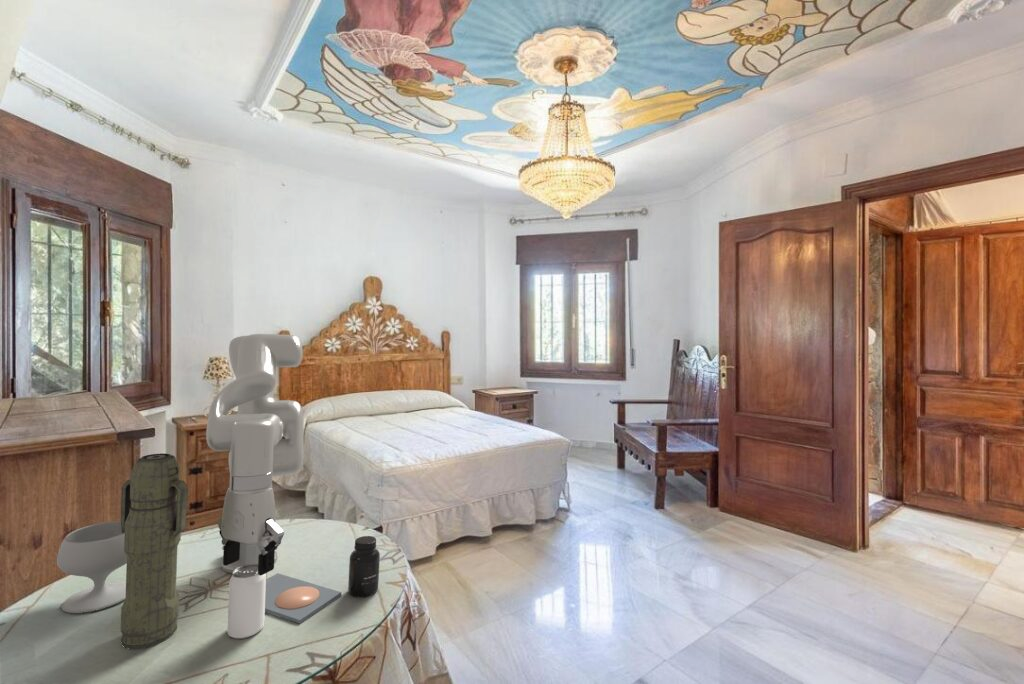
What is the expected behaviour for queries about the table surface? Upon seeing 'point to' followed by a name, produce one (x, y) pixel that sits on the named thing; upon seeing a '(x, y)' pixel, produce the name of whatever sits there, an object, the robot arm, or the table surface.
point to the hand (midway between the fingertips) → (248, 567)
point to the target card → (296, 598)
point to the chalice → (94, 565)
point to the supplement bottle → (364, 567)
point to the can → (246, 602)
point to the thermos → (152, 549)
